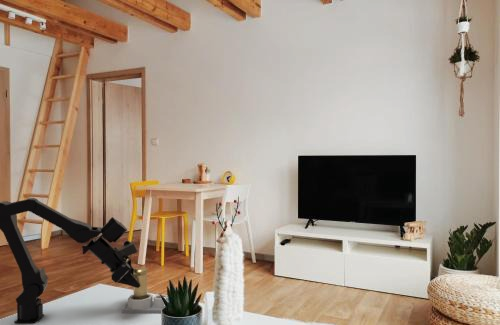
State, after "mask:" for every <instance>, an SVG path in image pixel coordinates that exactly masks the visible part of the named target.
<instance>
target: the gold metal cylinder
mask: <svg viewBox="0 0 500 325" xmlns="http://www.w3.org/2000/svg"><path fill="white" fill-rule="evenodd" d="M133 274H134V277H135V279H136V280H137V281H138V283H139V284H140V287H139V288H136V287H133V295H134V300H143V299H146V298H147V293H148V268H147V267H144V266H143V267H142V266H141V267H140V266H139V267H136V268H134V270H133Z"/></svg>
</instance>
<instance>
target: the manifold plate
mask: <svg viewBox="0 0 500 325" xmlns="http://www.w3.org/2000/svg"><path fill="white" fill-rule="evenodd" d="M160 295H162V296H163V297H165V298H166V300H167V301H169V297H168V298H167V296H168V295H167V294H158V295H154V296H153V295H152V294H151V293H148V292H147V298H146V299H143V300H134V294H131V295H129V297H128V298H127V304H126V305H125V306H124V307H123V308H122V310H121V314H162V313H161V310H162V309H163V308H164V307H165V306H164V303H163V301H162V299H161V296H160Z"/></svg>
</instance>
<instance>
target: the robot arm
mask: <svg viewBox="0 0 500 325" xmlns="http://www.w3.org/2000/svg"><path fill="white" fill-rule="evenodd" d="M27 212H30V213H32V214H34V215H35V216H36V217H37V216H38V217H39V218H41V219H43V220H45V221H47V222H48V223H50V224H53V225H54V226H56V227H58V228H59V229H61V230H63V231H64V232H65V233H66V234H67V235H68V236H69V237H70V238H71V239H73V241H75V242H76V243H78V244H82V245H81V246H82V255H86V253H88V252H90V253H91V254H93V255H94V256H95V258H97V259H98V260H99V261H100V264H102V265H105V266H106V268H108V269H109V272H110V273H111V280H112V281H113V282H114V283H115V284H122V285H125V286H130V287H133V288H134V287H136V288H139V287H140V284H139V283H138V281H137V280H136V279H135V277H134V274H133V270H134V269H135V268H134V267H133V265H132V258H131V255H135V254H137V253H138V248H137V245H136V244H135V241H130V240H129V239H127V240H125V241H123V246H121V247H119V248H117V246H112V245H111V243H113V242H114V243H116V242H118V241H119V239H120V238H121V237H123V235H124V234H125V233H126V232H127V231H128V228H127V227H126V226H125V225H124V224H123V223H122V222H121V221H119V220H117V219H116V218H115V217H114V216H112V217H110V218H109V220H108V221H107V222H106V223H105V224H104V225H103V226H101V227H100V226H99V227H98V226H92V225H91V224H90V223H86V222H84V221H81V220H77V219H74V218H70V217H68V216H67V215H66V214H63V213H62V212H59V211H57V210H56V209H54V208H52V207H50V206H49V205H47V204H45V203H43V202H41V200H39V199H37V198H35V197H30V198H27V199H23V200H18V201H14V202H11V201H8V200H7V201H6V200H3V201H0V231H1V232H2V233H3V235H4V238H5V240H6V242H7V244H8V246H9V249H10V251H11V253H12V255H13V258H14V260H15V262H16V264H17V266H18V268H19V271H20V274H21V275H20V276H21V285H22V289H23V290H22V291H21V292H20V293H19V295H18V296H17V297H16V298H15V301H16V318H17V319H15V320H14V321H13V323H14V324H34V323H36V322H37V321H39V320H40V319H42V318H43V317H44V316H45V314H44V305H43V303H42V298H39V297H41V295H42V294H44V292H45V290H46V288H47V286H48V283H49V282H48V280H49V276H48V275H47V274H46V270H45V268H44V267H42V268H38V266H36V263H35V262H34V260H33V258H32V255H31V252H30V250H29V248H28V246H27V244H26V241H25V240H24V238H23V235H22V233H21V231H20V229H19V226H18V216H17V215H18V214H22V213H27ZM87 242H88V243H87ZM85 243H87V244H85Z"/></svg>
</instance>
